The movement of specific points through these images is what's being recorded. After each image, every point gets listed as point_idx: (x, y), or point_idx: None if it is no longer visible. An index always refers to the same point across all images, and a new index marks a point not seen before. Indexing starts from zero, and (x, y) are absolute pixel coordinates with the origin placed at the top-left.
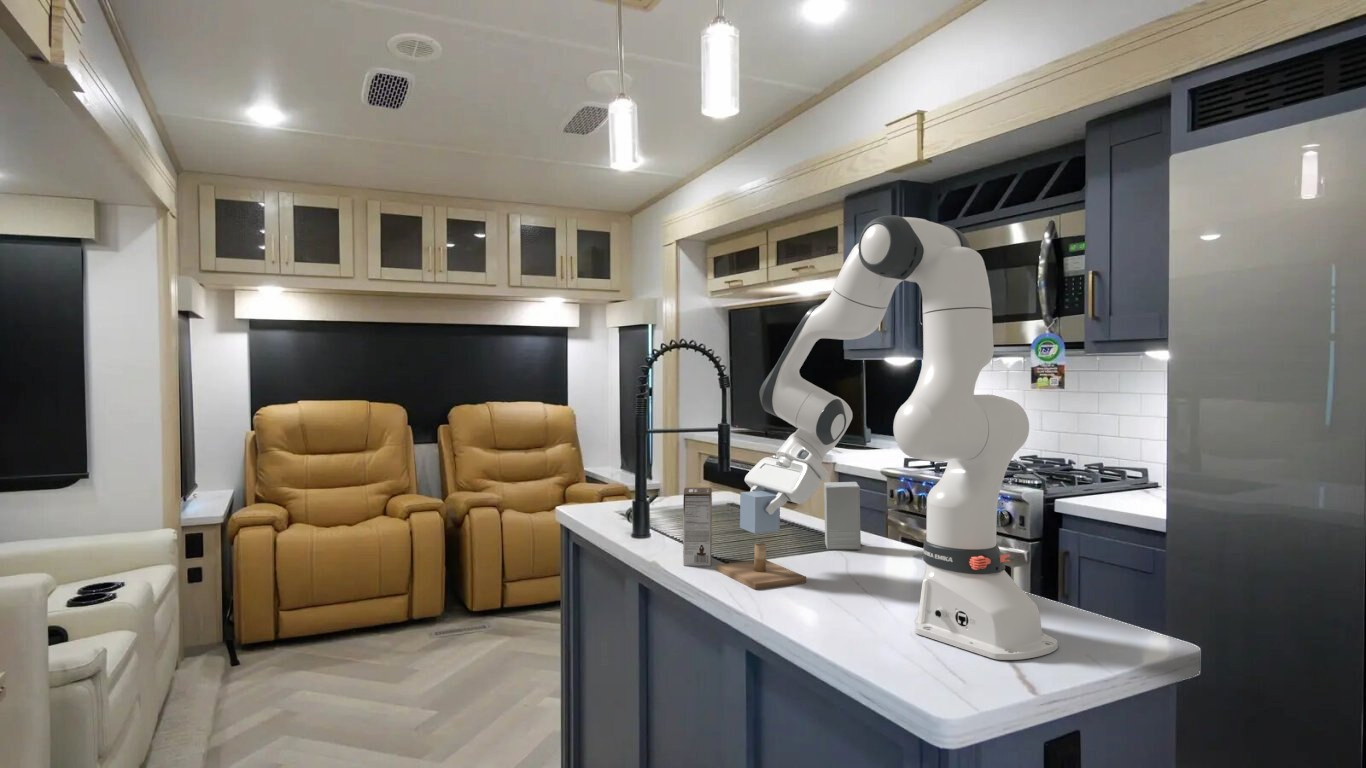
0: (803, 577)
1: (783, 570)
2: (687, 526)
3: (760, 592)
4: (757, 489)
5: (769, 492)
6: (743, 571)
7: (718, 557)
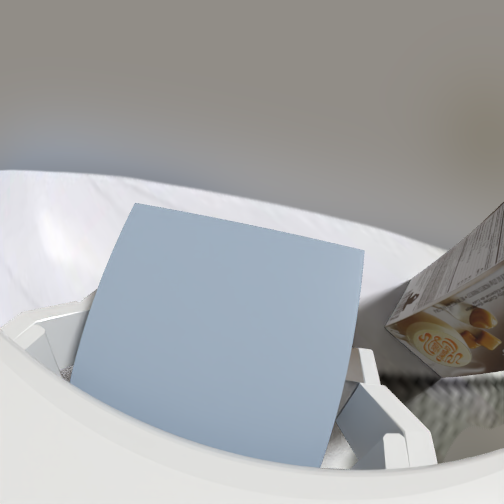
0: None
1: None
2: (459, 246)
3: None
4: (371, 465)
5: None
6: None
7: (427, 388)
